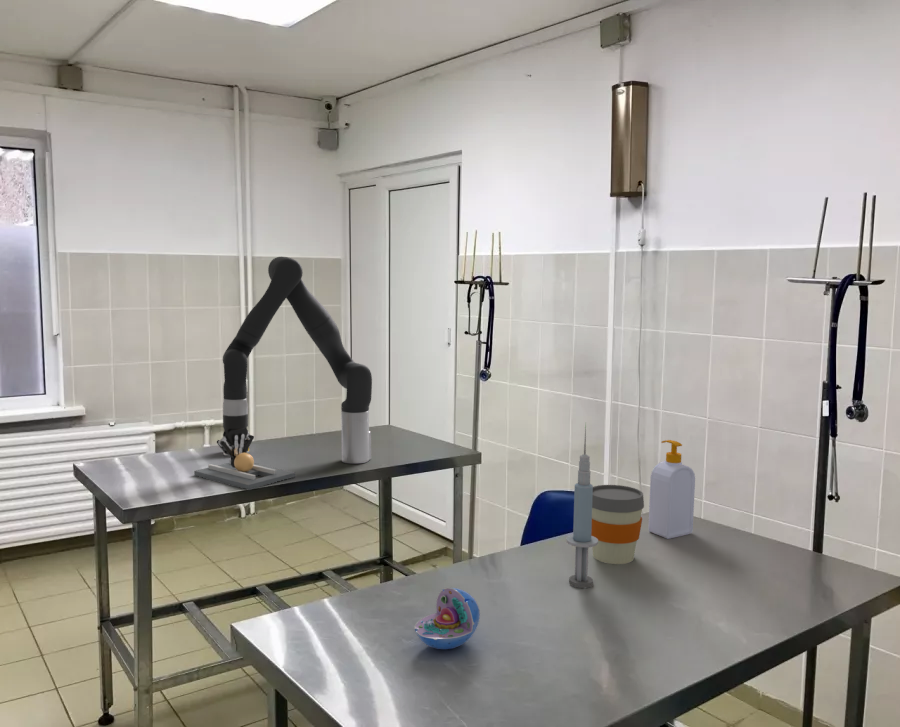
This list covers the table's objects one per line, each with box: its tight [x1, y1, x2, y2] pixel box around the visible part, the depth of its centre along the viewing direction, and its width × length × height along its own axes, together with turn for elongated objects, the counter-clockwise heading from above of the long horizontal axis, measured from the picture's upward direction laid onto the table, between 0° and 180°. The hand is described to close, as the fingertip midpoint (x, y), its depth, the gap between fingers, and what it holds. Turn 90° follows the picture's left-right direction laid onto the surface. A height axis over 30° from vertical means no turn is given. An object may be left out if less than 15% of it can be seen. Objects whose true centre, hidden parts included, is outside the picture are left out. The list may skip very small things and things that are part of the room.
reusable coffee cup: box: [591, 484, 645, 565], centre depth 171 cm, size 13×13×15 cm
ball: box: [234, 452, 255, 472], centre depth 236 cm, size 6×6×6 cm
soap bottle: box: [648, 439, 696, 540], centre depth 187 cm, size 9×7×23 cm
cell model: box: [413, 587, 481, 650], centre depth 129 cm, size 10×12×10 cm
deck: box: [193, 459, 296, 491], centre depth 237 cm, size 18×26×3 cm
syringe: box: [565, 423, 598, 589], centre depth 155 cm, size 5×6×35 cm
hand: (235, 467), depth 239 cm, fingers closed
